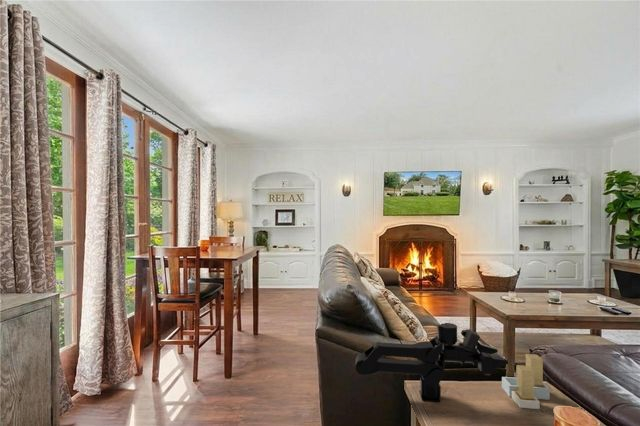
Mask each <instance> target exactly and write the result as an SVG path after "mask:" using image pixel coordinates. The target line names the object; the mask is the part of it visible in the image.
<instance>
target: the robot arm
mask: <svg viewBox="0 0 640 426" xmlns="http://www.w3.org/2000/svg"><path fill="white" fill-rule="evenodd" d="M436 329H437V335H436V336H435V337H433V338H431V339H430V340H427V341H420V342H415V343H409V344H408V343H393V342H380V341H377V342H375V343H373V345H372V346H370V347H368V348H367V349H366V350H365V351H364V352H360V353H358V355H357V356H356V357H355V365H354V367H355V371H356V372H357V374H358V375H360V376H372V375H375V374H377V373H381V372H382V373H391V374H392V373H393V374H406V375H407V374H408V375H411V374H412V375H419V376H420V378H419V391H418V392H419V395H420V399H421V401H423V402H425V401H427V402H437V403H440V402H441V397H442V394H441V393H442V391H441V381H442V379H444V377H445V375H446V371H445V367H446V362H450V363H451V362H453V363H460V364H461V365H464V366H465V364H466V363H467V364H473V366H477V368H478V369H479V372H481V373H482V374H483V375H484V376H491V374H492V373H493V372H494V371H496V370H497V369H499V368H502V367H503V366H506V365H508V364H509V360H508V359H504V358H499V357H494V356H492V355H493V354H497V353H498V349H497V348H494V347H491V346H487V345H484V344H481V343H480V342H479V340H480V338H481V336H480V334H478V332H476V331H473V330H472V329H471V328H470V329H469V328H466V329H464V330H463V329H462V330H461V332H460V334H461V336H462V337H463V338H462V342H458V325H456V324H454V323H451V322H445V323H440V324H437V325H436ZM456 344H457V345H456ZM382 357H397V358H398V359H395V358H382ZM399 358H411V359H412V360H411V359H399ZM413 358H414V359H416V360H413Z"/></svg>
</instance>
